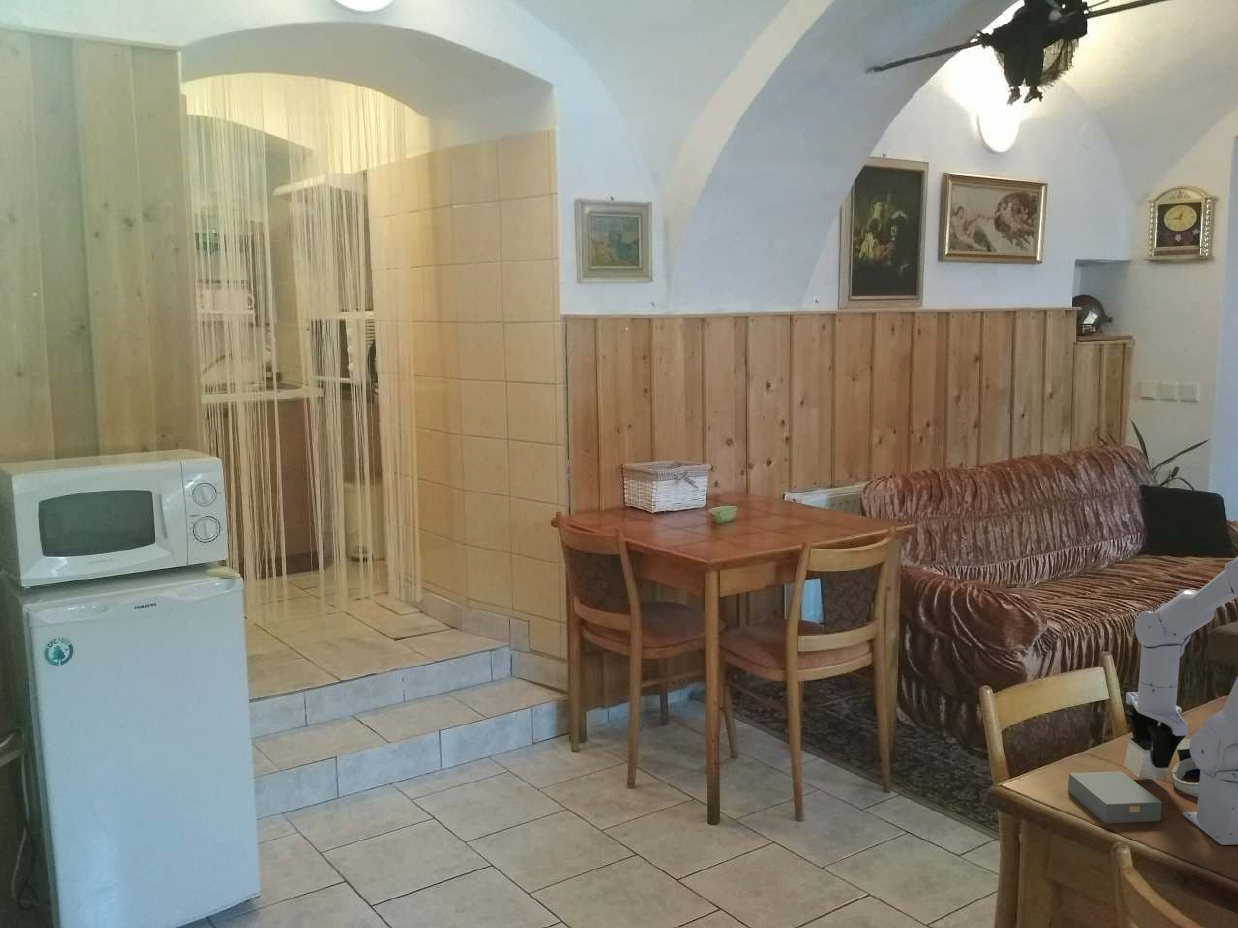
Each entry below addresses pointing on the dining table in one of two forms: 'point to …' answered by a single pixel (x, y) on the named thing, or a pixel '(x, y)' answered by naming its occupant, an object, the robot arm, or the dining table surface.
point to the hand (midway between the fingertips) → (1152, 760)
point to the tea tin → (1143, 760)
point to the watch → (1185, 770)
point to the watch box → (1114, 797)
